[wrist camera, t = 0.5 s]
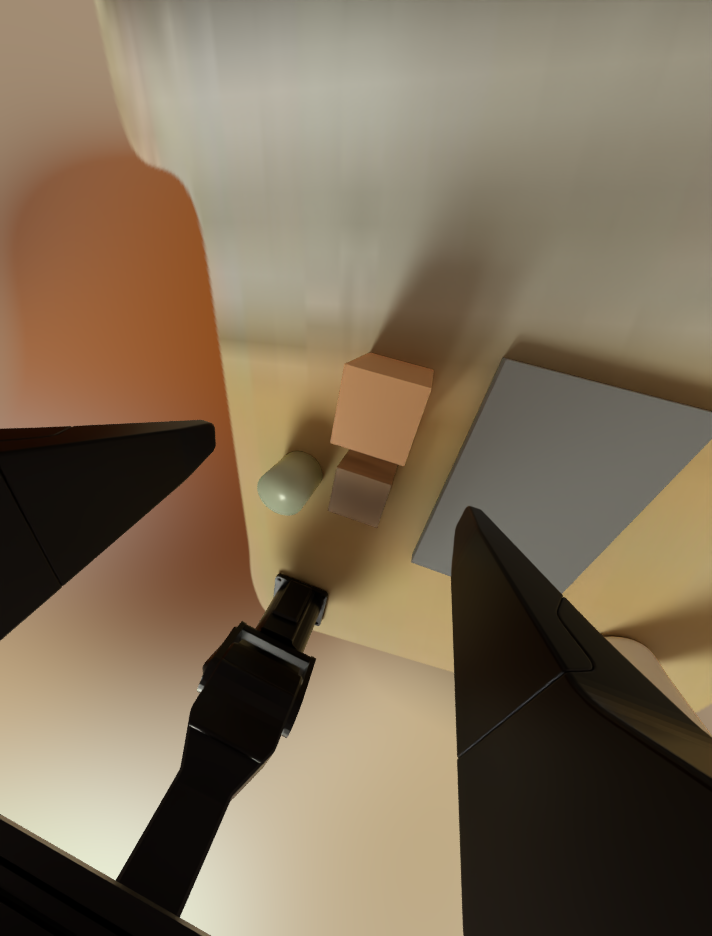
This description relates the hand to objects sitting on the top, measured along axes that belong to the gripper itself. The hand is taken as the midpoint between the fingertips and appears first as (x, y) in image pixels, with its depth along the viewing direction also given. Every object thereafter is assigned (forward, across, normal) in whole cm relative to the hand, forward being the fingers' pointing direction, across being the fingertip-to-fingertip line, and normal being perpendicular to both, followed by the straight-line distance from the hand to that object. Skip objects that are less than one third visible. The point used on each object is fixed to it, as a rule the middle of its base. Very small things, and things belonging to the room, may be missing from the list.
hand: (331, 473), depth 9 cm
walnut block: (+12, 0, +7) cm, 14 cm away
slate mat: (+12, -12, +5) cm, 18 cm away
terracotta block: (+12, 0, 0) cm, 13 cm away
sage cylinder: (+12, +6, +9) cm, 16 cm away
